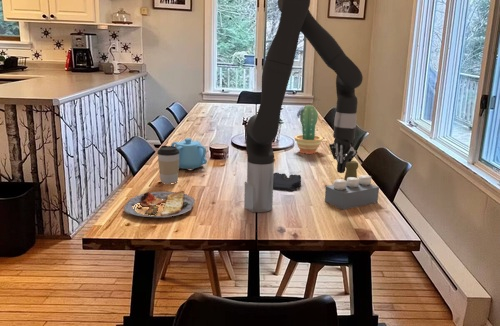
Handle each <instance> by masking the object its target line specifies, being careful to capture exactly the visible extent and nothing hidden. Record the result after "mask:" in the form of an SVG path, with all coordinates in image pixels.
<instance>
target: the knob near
mask: <svg viewBox="0 0 500 326" xmlns="http://www.w3.org/2000/svg"><path fill="white" fill-rule="evenodd" d="M346 184H347V181H346V180H344V179H342V178H341V179H340V178H339V179H338V178H337V179H334V181H333V185H334V188H335V189H337V190H339V191H342V190H343V189H346Z"/></svg>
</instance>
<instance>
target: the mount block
mask: <svg viewBox="0 0 500 326" xmlns="http://www.w3.org/2000/svg"><path fill="white" fill-rule="evenodd" d="M379 190H380V187H379V186H378V185H375V184H370V185H367V186H362V184H359V186H358V187H355V188H350V187H349V186H347V184H346V189H343V190H342V191H339V190H337V189H335V188H334V184H329V185H326V186H325V193H324V202H325V203H328V204H330V205H332V206H334V207H336V208H337V209H340V210H343V211H344V210H348V209H354V208H358V207H363V206H367V205H372V204H377V203H378V202H379V200H378V199H379V192H380V191H379Z"/></svg>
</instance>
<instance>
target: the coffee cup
mask: <svg viewBox="0 0 500 326" xmlns="http://www.w3.org/2000/svg"><path fill="white" fill-rule="evenodd" d="M179 153H180V152H179V150H178V149H177V148H176V147H175V145H174V146H171V145H161V147H159V149H158V150H157V158H158V159H157V162H158V170H159V171H158V173H159V176H160V178H159V179H160V183H161V182H162V183H165V184H164V185H166V184H170V185H172V184H171V183H175V182H177V181H179V180H178V179H179V172H180V171H179V169H180V168H179ZM162 183H161V184H162ZM177 183H178V182H177ZM175 184H176V183H175Z"/></svg>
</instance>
